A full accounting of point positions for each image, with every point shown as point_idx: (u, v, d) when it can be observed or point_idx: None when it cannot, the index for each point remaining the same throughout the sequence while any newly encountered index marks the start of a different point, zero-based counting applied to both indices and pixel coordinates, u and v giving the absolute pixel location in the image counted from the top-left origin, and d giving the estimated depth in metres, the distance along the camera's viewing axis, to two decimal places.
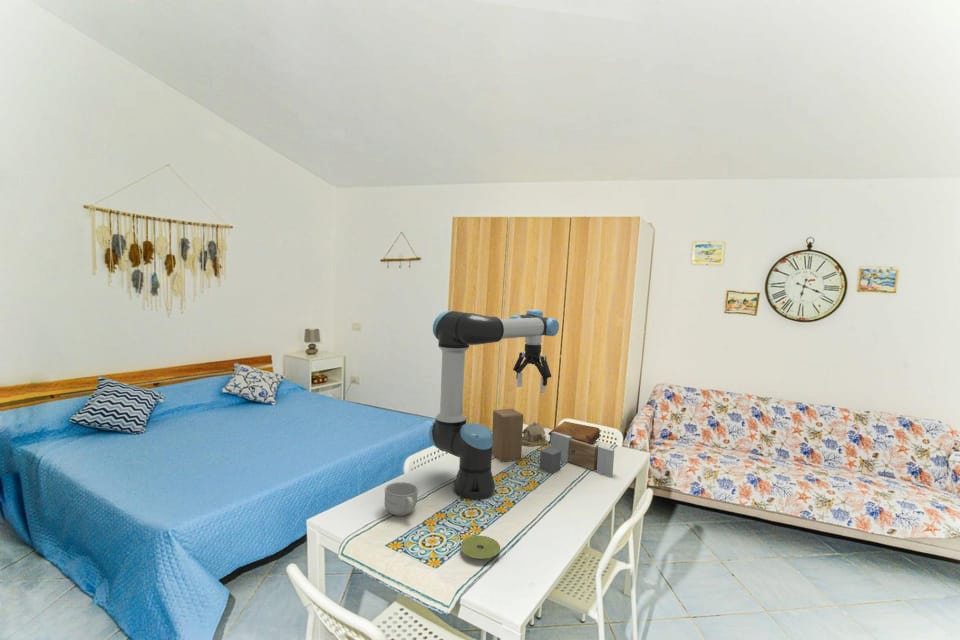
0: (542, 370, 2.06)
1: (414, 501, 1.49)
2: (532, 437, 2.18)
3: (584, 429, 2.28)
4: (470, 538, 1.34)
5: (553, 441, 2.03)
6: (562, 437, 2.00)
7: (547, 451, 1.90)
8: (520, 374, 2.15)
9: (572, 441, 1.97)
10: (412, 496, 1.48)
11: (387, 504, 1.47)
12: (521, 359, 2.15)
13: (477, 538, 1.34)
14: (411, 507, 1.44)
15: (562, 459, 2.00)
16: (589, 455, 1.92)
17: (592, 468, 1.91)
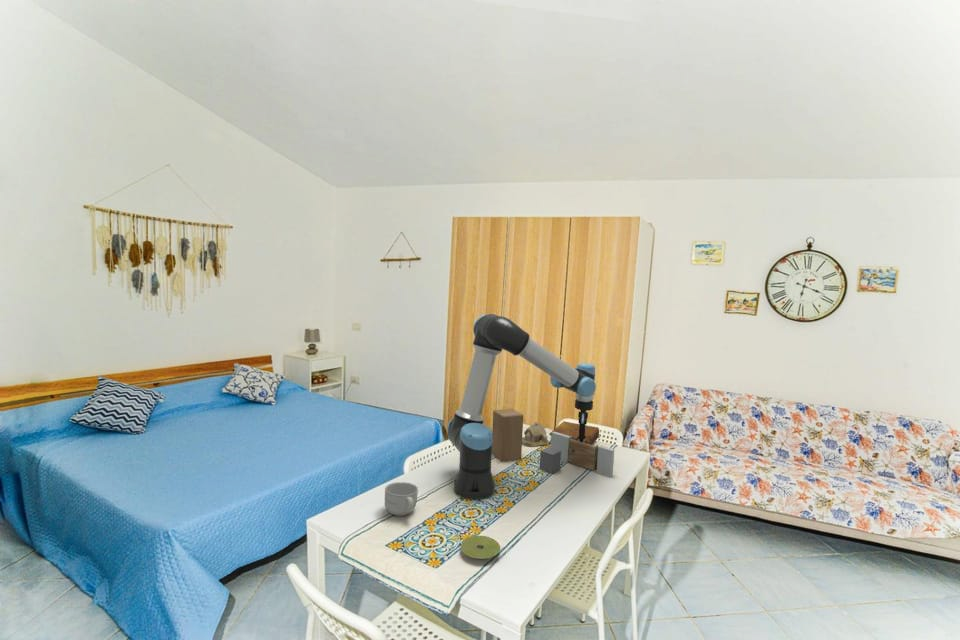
0: None
1: (414, 501, 1.49)
2: (534, 437, 2.18)
3: None
4: (470, 538, 1.34)
5: (553, 441, 2.03)
6: (562, 437, 2.00)
7: (547, 451, 1.90)
8: None
9: (572, 441, 1.97)
10: (412, 496, 1.48)
11: (387, 504, 1.47)
12: None
13: (476, 538, 1.34)
14: (411, 507, 1.44)
15: (562, 459, 2.00)
16: (589, 455, 1.92)
17: (592, 468, 1.91)
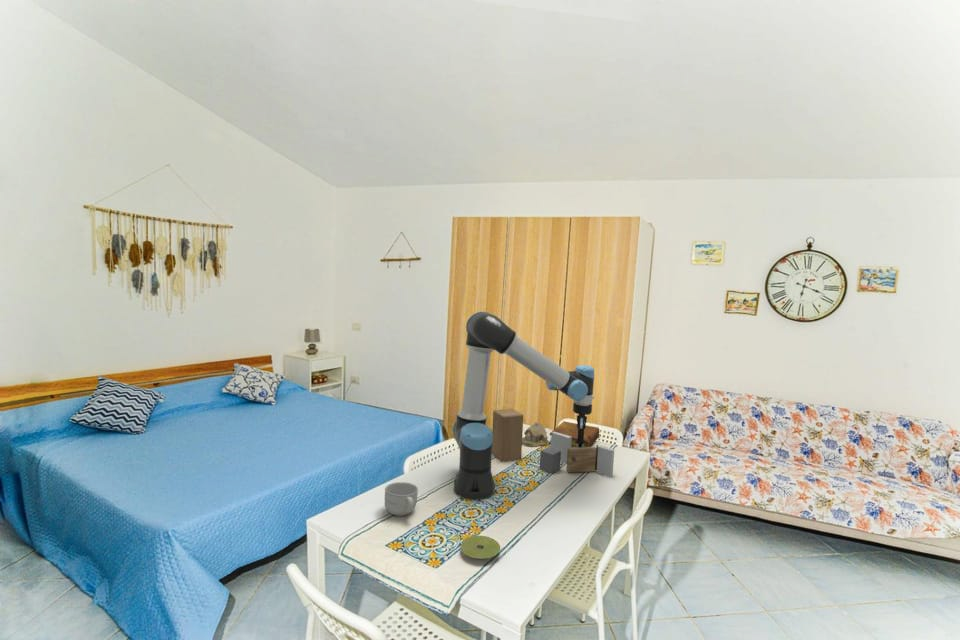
0: None
1: (414, 501, 1.49)
2: (534, 437, 2.18)
3: (584, 429, 2.28)
4: (470, 538, 1.34)
5: (553, 441, 2.03)
6: (562, 437, 2.00)
7: (547, 451, 1.90)
8: None
9: (571, 449, 1.87)
10: (412, 496, 1.48)
11: (387, 504, 1.47)
12: None
13: (476, 538, 1.34)
14: (411, 507, 1.44)
15: (562, 459, 2.00)
16: (590, 458, 1.89)
17: (593, 469, 1.90)
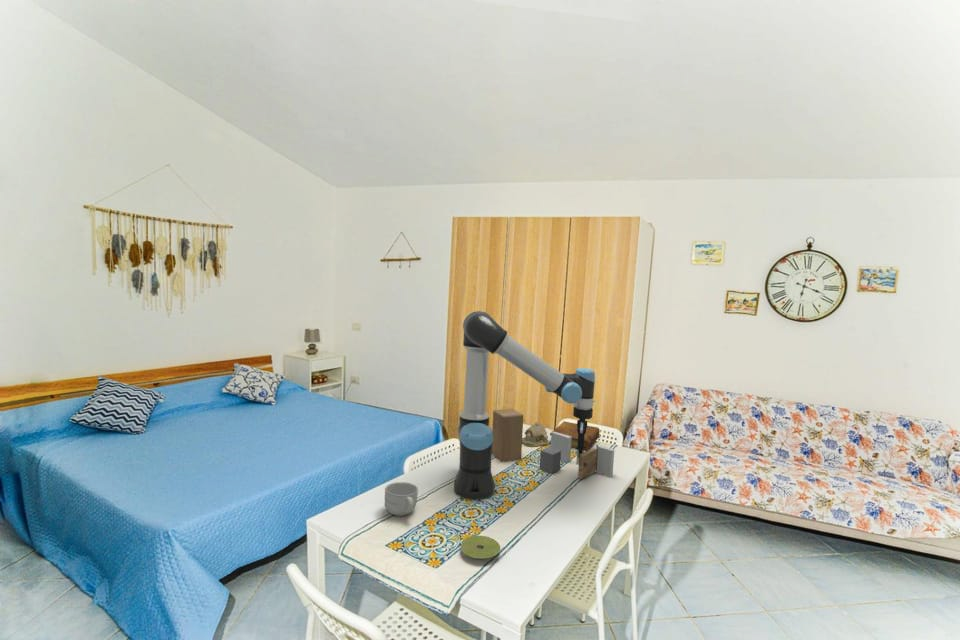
0: None
1: (414, 501, 1.49)
2: (535, 437, 2.18)
3: None
4: (470, 538, 1.34)
5: (553, 441, 2.03)
6: (562, 437, 2.00)
7: (547, 450, 1.90)
8: None
9: (583, 455, 1.81)
10: (412, 496, 1.48)
11: (387, 504, 1.47)
12: None
13: (476, 538, 1.34)
14: (411, 507, 1.44)
15: (562, 459, 2.00)
16: (594, 459, 1.88)
17: (595, 470, 1.89)
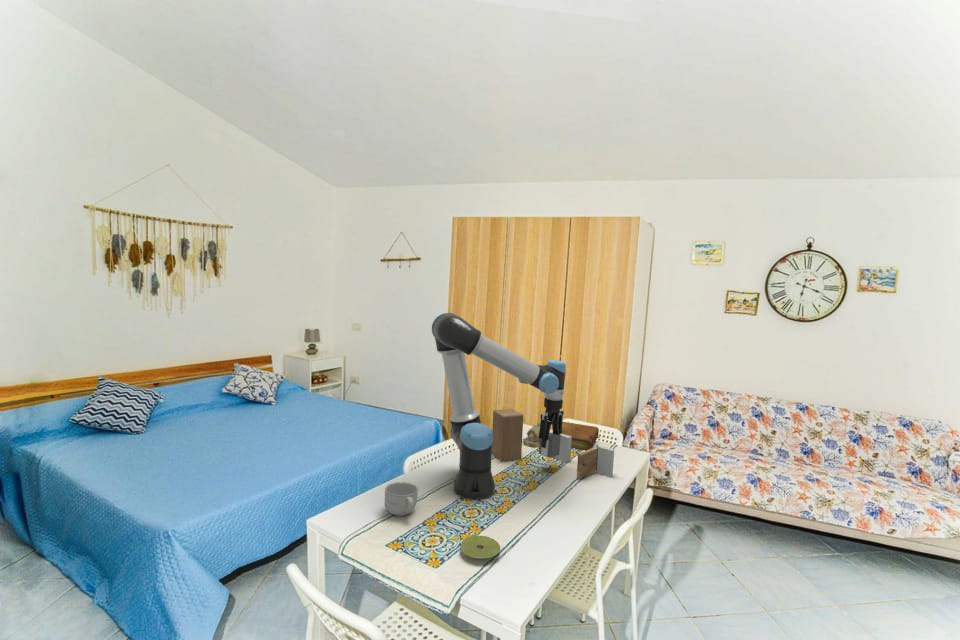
0: None
1: (414, 501, 1.49)
2: (537, 438, 2.17)
3: (584, 429, 2.29)
4: (470, 538, 1.34)
5: None
6: (562, 437, 2.00)
7: None
8: None
9: (582, 455, 1.82)
10: (412, 496, 1.48)
11: (387, 504, 1.47)
12: None
13: (476, 538, 1.34)
14: (411, 507, 1.44)
15: (562, 459, 2.00)
16: (594, 459, 1.88)
17: (595, 470, 1.89)
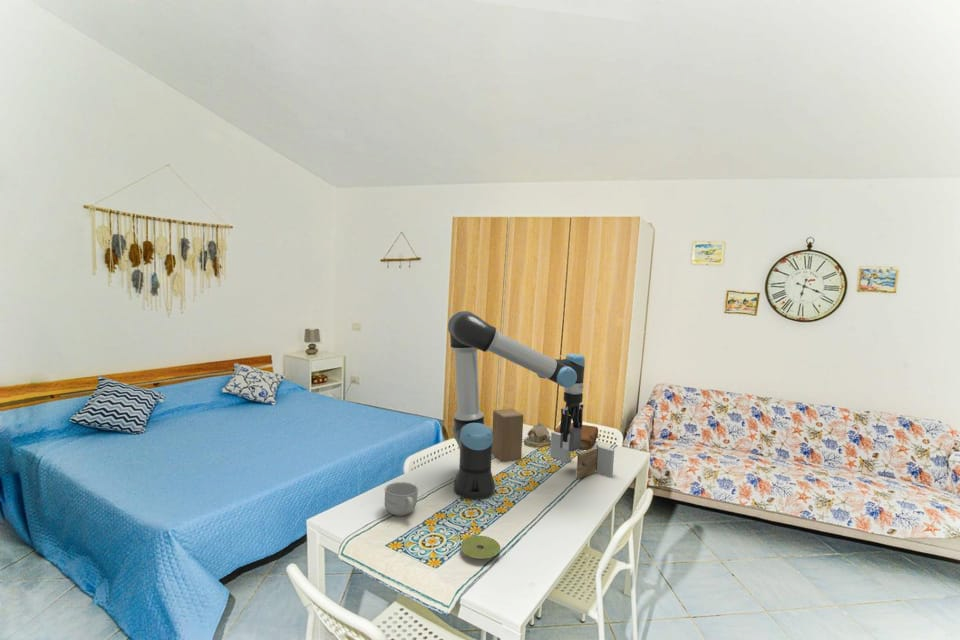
0: None
1: (414, 501, 1.49)
2: (538, 438, 2.17)
3: (584, 429, 2.29)
4: (470, 538, 1.34)
5: (553, 441, 2.03)
6: None
7: None
8: None
9: (582, 455, 1.82)
10: (412, 496, 1.48)
11: (387, 504, 1.47)
12: None
13: (476, 538, 1.34)
14: (411, 507, 1.44)
15: (562, 459, 2.00)
16: (593, 459, 1.88)
17: (595, 470, 1.89)
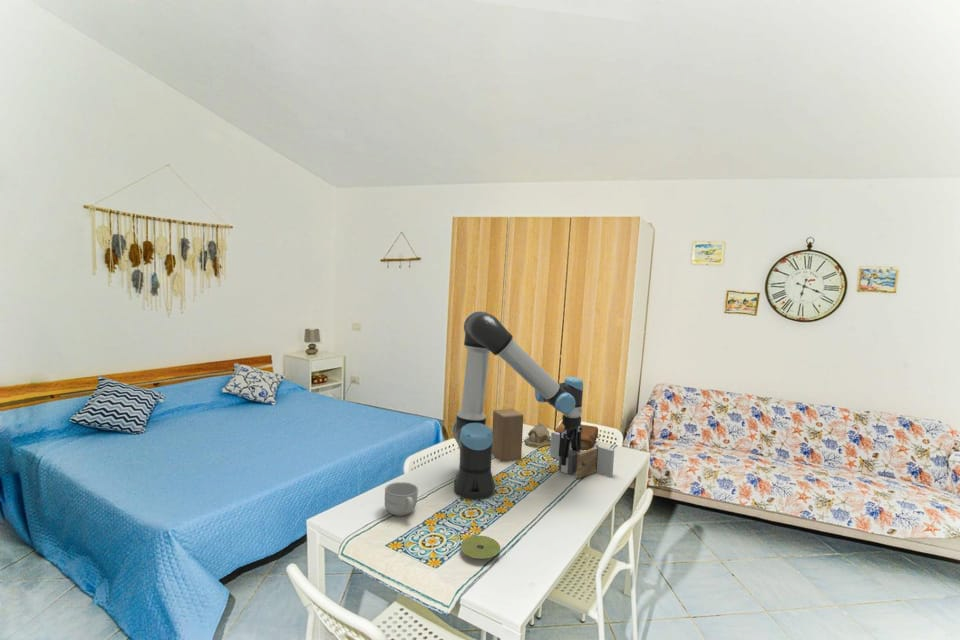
0: None
1: (414, 501, 1.49)
2: (539, 438, 2.17)
3: (584, 429, 2.29)
4: (470, 538, 1.34)
5: (553, 441, 2.03)
6: None
7: None
8: None
9: (581, 455, 1.82)
10: (412, 496, 1.48)
11: (387, 504, 1.47)
12: None
13: (476, 538, 1.34)
14: (411, 507, 1.44)
15: None
16: (593, 459, 1.88)
17: (595, 470, 1.89)
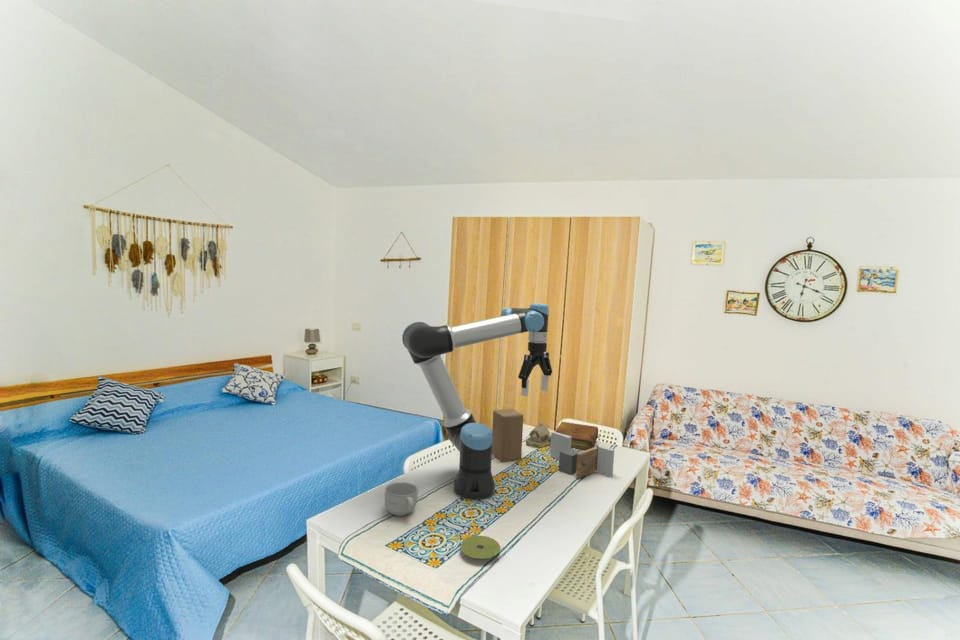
0: None
1: (414, 501, 1.49)
2: (540, 438, 2.17)
3: (584, 429, 2.29)
4: (470, 538, 1.34)
5: (553, 441, 2.03)
6: (562, 437, 2.00)
7: (566, 452, 1.89)
8: (544, 376, 1.93)
9: (581, 454, 1.82)
10: (412, 496, 1.48)
11: (387, 504, 1.47)
12: (545, 360, 1.92)
13: (476, 538, 1.34)
14: (411, 507, 1.44)
15: None
16: (593, 459, 1.88)
17: (595, 470, 1.89)
